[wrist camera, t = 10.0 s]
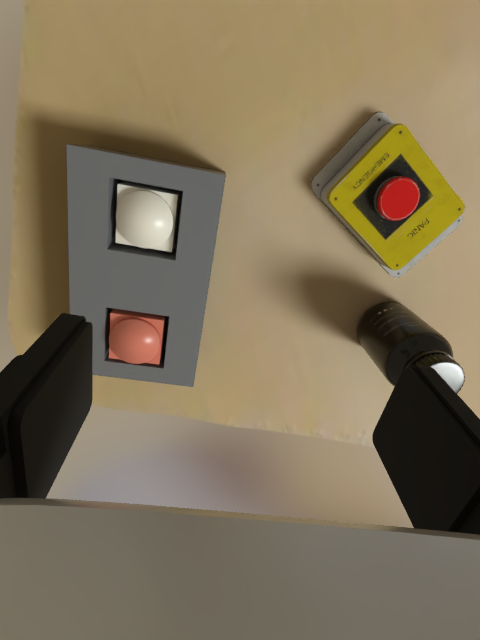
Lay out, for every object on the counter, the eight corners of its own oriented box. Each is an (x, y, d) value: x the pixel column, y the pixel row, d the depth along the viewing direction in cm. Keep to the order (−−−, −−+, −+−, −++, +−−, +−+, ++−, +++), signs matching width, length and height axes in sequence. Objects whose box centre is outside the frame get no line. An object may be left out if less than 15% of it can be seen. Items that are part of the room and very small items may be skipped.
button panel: (87, 145, 33) (66, 144, 29) (225, 172, 35) (225, 175, 30) (86, 348, 42) (70, 371, 38) (196, 362, 44) (193, 386, 39)
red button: (117, 302, 37) (108, 315, 34) (167, 310, 38) (162, 323, 35) (115, 345, 39) (107, 361, 37) (162, 352, 40) (158, 367, 37)
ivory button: (124, 181, 33) (115, 184, 30) (180, 192, 34) (176, 195, 31) (122, 236, 35) (113, 244, 32) (175, 245, 36) (171, 253, 33)
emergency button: (399, 100, 29) (490, 225, 34) (378, 107, 33) (463, 218, 38) (315, 188, 32) (411, 293, 37) (305, 184, 36) (393, 279, 41)
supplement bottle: (417, 338, 44) (481, 399, 33) (363, 358, 45) (409, 424, 34) (405, 290, 41) (471, 340, 30) (348, 313, 42) (392, 369, 31)
